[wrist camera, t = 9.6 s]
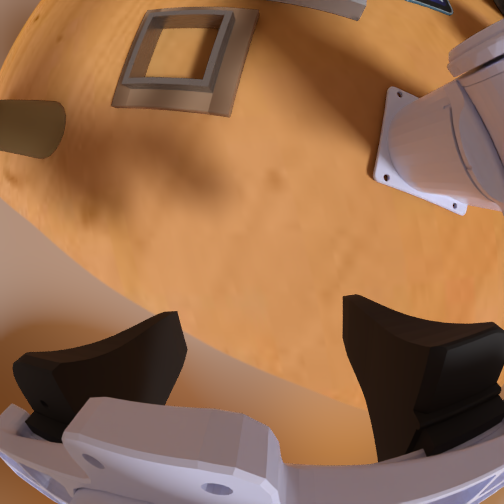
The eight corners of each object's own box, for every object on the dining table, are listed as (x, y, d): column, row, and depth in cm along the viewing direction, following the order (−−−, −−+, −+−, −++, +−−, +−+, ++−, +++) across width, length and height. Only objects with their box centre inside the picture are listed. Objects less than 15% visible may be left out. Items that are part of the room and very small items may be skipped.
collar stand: (259, 14, 15) (257, -1, 13) (230, 117, 18) (224, 109, 16) (150, 14, 16) (140, 2, 13) (116, 108, 18) (101, 102, 16)
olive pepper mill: (28, 162, 20) (-53, 167, 9) (33, 109, 18) (-43, 98, 8) (62, 154, 19) (-30, 152, 9) (69, 94, 18) (-15, 71, 7)
